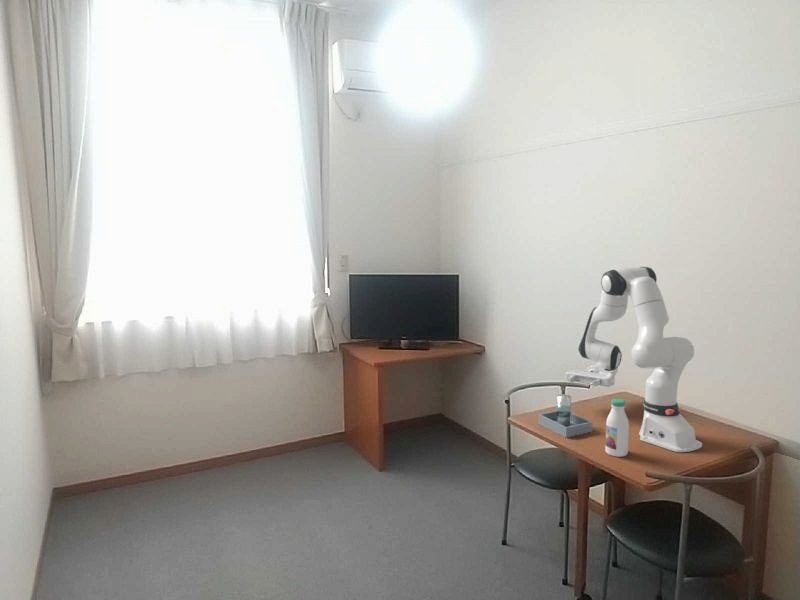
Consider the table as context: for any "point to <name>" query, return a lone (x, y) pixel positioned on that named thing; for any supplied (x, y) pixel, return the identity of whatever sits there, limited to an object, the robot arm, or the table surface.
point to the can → (563, 409)
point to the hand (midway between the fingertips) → (581, 381)
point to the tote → (575, 428)
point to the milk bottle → (617, 430)
